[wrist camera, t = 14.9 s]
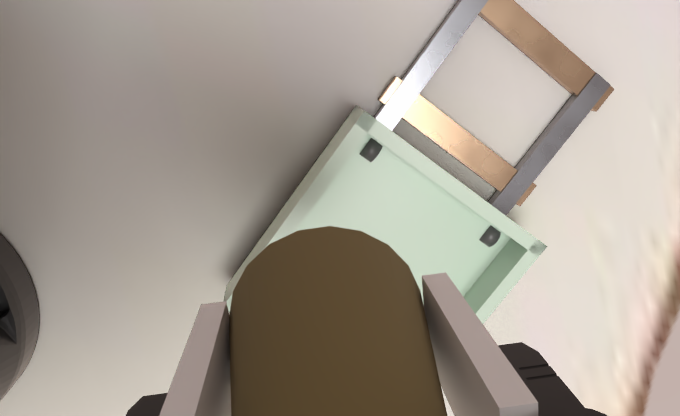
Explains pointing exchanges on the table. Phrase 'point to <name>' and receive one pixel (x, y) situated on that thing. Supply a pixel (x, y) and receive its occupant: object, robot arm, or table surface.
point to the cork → (331, 331)
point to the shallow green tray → (406, 214)
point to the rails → (511, 183)
